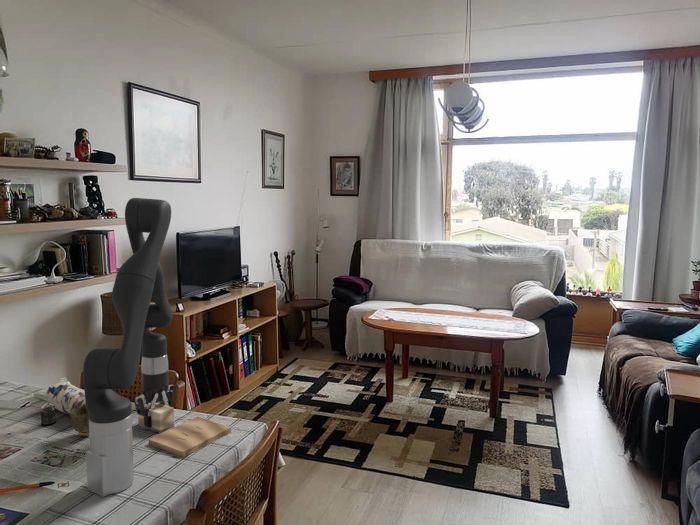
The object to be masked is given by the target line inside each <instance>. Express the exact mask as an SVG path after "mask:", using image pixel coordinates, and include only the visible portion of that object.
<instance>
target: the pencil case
mask: <svg viewBox="0 0 700 525" xmlns="http://www.w3.org/2000/svg"><path fill="white" fill-rule="evenodd" d="M46 394H48V395H47V399H46V400H47V403H48V404H49V403H51V404H53V405H54V406H55V407H56V409H55V410H57V411H58V412H61V413H64V414H66V415H68V416H70V411H71V409H73V408H76V409H77V407H78V406H79V407H81V406H82V405H83V404H85V405H86V403H85V391H84V389H82V388H79V387H77V386H75V385H74V384H73V383H72V382H70V381H68V377H62V378H59V382H56V384H54V385H53V386H52V387H50V386H49V387H48V388H47V390H46Z"/></svg>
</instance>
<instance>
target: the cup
mask: <svg viewBox="0 0 700 525" xmlns="http://www.w3.org/2000/svg"><path fill="white" fill-rule="evenodd" d="M69 417H70V421H71V426H72V428H73V429H74V431H75V432H78V433H77V435H78V436H79V437H81V438H87V437H89V414H88V411H87V409H86V405H85V404H83V405H82V406H81V407H79V406H78V407H77V409H76V408H73V409H71V411H70V415H69Z"/></svg>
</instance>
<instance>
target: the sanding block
mask: <svg viewBox="0 0 700 525" xmlns="http://www.w3.org/2000/svg"><path fill="white" fill-rule="evenodd" d="M149 404H151V403H149ZM147 411H148V409H147ZM137 416H138V417H137V420H138V421H137V422H138V426H140V427H143V428H144V429H145V428H146V429H148V430H151V431H154V432H156V433H159V434H161V433H163V432H165V431H168V430H170V429H172V428H174V427H175V409H174V407H173V406H166V405H163V404H160V403H159V402H157V403H155V406H154V408H153V409H152V413H151V417H152V427H150V428H148V427H146V426H145V425H144V416H141V415H138V414H137Z"/></svg>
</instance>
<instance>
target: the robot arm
mask: <svg viewBox="0 0 700 525" xmlns="http://www.w3.org/2000/svg"><path fill="white" fill-rule="evenodd" d="M124 219H125V220H124V222H125V227H126V231H127V234H128V235H127V236H128V241H129V243H130V248H131V251H132V255H131V256H130V257H128V258H127V260H125V261H124V262H123V263H122V265H121V266H120V267H119V269H118V270H117V272H116V275H115V280H114V283H113V287H112V290H111V300H112V304H113V306H114V309H115V310H116V313H117V316H118V317H119V320H120V322H121V323H120V324H121V327H122V332H123V333H122V343H121V347H120V348H94V349H91V350H89V352H87V354H86V356H85V358H84V361H83V365H82V366H83V367H82V379H83V381H82V382H83V388H84V389H83V390H84V391H85V403H86V409H87V411H88V414H89V436H88V437H89V449H88V450H86V451H85V458H86V459H85V461H86V462H85V463H86V483H87V484H86V486H87V489H86V490H88V491H90V492H92V493H94V494H97V495H99V496H100V497H103V498H104V497H106V496H108V495H115V494H117V493H120V492H122V491H125V490H127V489H129V487H131V486H132V485H133V483H134V481H135V478H134V476H135V473H134V448H133V447H134V446H133V445H134V444H133V443H134V442H133V413H132V412H133V408H132V407H133V406H132V402H131V401H130V399H128V398H127V397H124V396H122V395H120V394H118V393H117V392H115V391H114V390H128V389H130V388H131V387H132V385H134V383H135V381H136V378H137V374H138V372H139V371H138V370H139V367H140V366H141V368H140V369H141V386H142V392H141V394H140V395H139V396H134V397H133V402H134V407H135V410H136V414H137V416H138V415H141V416H144V425H145V426H146V427H148V428H150V427H152V417H151V413H152V409H153V408H154V406H155V403H160V404H163V405H166V406H169V407H171V406H173V405H174V404H175V403H174V402H175V399H176V398H175V397H176V390H177V385H174V384H171V383H170V384H169V381H170V380H169V359H168V341H167V340H168V339H167V336H165V335H164V334H161V333H156V332H152V331H151V330H150V329H149V328H151V329H153V328H154V329H155V328H167V327H169V326H170V325H171V324H172V321H173V318H174V314H173V310H172V307H171V305H170V303H169V300H168V297H167V294H166V288H165V286H166V285H165V274H164V273H165V272H164V270H163V267H162V265H161V263H160V258H161V253H162V250H163V248H164V244H165V242H166V237H167V235H168V231H169V228H170V225H171V220H172V207H171V205H170V203H169V202H168V201H166V200H165V199H158V198H157V199H155V198H144V197H143V198H140V197H132V198H130V199H129V200H128V201H127V203H126V204H125V208H124ZM144 233H146V234H148V236H147V238H146V240H145V236H144ZM140 360H141V364H140ZM149 403H151V404H149ZM147 409H148V411H147ZM148 428H147V429H148Z"/></svg>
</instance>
